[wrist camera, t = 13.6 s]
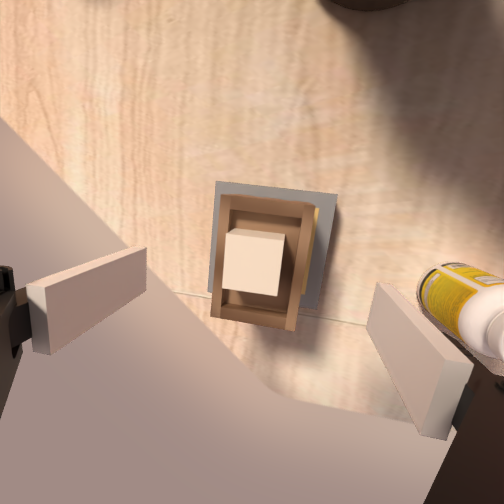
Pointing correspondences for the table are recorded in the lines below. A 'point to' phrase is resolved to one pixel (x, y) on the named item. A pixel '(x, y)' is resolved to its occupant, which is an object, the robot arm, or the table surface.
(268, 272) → the block
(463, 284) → the pill bottle
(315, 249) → the dock
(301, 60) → the table surface
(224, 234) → the stained wood crate
